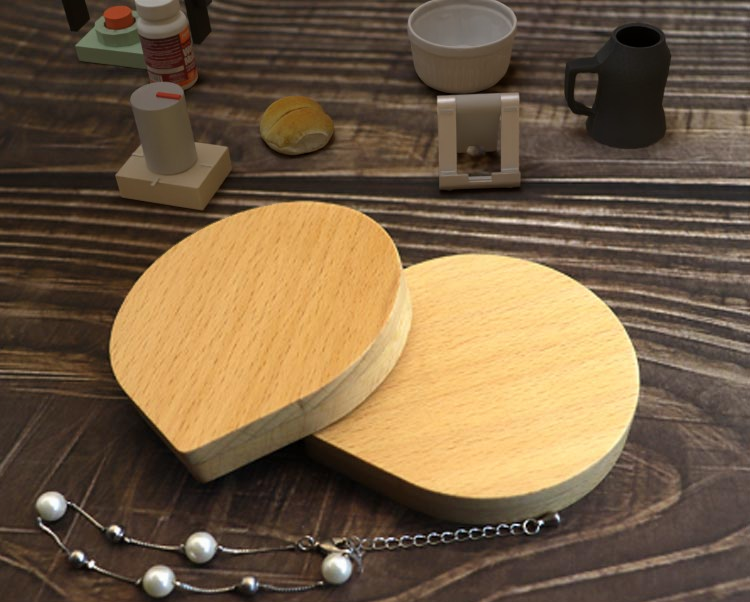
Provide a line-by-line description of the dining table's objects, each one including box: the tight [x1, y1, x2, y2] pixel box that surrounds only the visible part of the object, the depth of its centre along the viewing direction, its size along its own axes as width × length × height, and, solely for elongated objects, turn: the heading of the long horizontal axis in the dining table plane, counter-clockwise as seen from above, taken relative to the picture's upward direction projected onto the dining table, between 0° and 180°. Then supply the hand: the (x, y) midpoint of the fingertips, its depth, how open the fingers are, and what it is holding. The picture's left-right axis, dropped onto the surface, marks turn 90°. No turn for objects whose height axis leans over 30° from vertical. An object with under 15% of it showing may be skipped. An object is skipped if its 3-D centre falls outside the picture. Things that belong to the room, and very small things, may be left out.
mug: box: [563, 22, 672, 150], centre depth 113 cm, size 12×9×11 cm
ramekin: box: [407, 0, 518, 95], centre depth 124 cm, size 13×13×7 cm
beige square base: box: [114, 141, 233, 211], centre depth 113 cm, size 10×10×3 cm
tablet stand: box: [436, 91, 522, 191], centre depth 109 cm, size 9×8×8 cm
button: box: [103, 5, 134, 30], centre depth 132 cm, size 4×4×2 cm
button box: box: [74, 10, 147, 70], centre depth 134 cm, size 10×8×4 cm
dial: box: [129, 82, 197, 175], centre depth 109 cm, size 6×6×8 cm
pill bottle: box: [134, 0, 199, 91], centre depth 125 cm, size 6×6×11 cm
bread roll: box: [259, 95, 335, 156], centre depth 118 cm, size 8×9×4 cm
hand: (140, 31), depth 101 cm, fingers open, 13 cm apart
